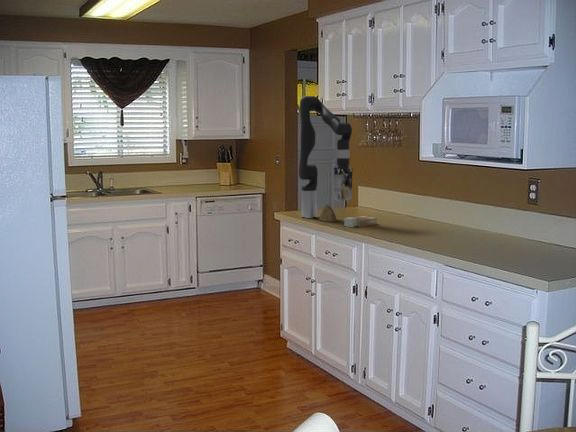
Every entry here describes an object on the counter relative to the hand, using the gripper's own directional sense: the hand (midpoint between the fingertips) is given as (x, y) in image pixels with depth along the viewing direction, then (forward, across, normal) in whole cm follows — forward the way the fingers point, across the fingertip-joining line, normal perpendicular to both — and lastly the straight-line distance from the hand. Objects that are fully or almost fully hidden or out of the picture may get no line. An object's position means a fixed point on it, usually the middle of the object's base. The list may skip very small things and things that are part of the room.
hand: (343, 185), depth 394 cm
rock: (+23, -11, -3) cm, 25 cm away
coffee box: (+9, 0, 0) cm, 9 cm away
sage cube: (+22, +14, -7) cm, 27 cm away
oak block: (+22, +12, +4) cm, 26 cm away
